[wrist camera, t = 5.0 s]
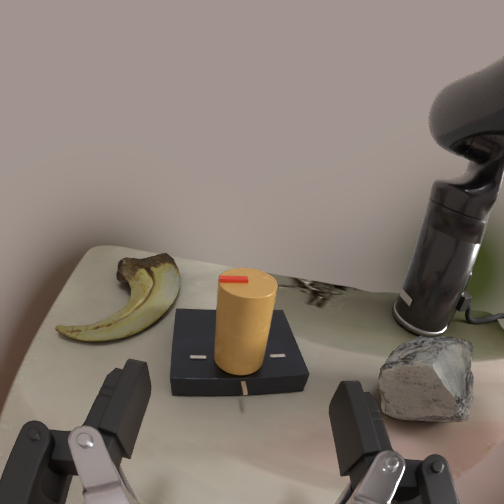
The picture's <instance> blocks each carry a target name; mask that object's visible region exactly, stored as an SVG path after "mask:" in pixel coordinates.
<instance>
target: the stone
mask: <svg viewBox="0 0 504 504" xmlns="http://www.w3.org/2000/svg"><path fill="white" fill-rule="evenodd" d="M472 352H473V346H472V344H471V343H470V342H469V341H465V340H462V339H460V338H458V339H456V338H454V337H443V336H441V337H435V338H432V337H429V338H428V337H425V336H419V337H416V338H414V339H413V340H412V341H410V342H406V343H404V344H402V345H400V346H399V347H397V349H396V350H394V351H392V353H391V354H390V356H389V357H388V359H387V360H386V362H385V364H384V365H383V366H382V367H381V368H380V370H381V372H380V374H379V378H378V380H379V389H380V391H381V396H382V398H381V399H382V402H381V409H382V412H383V413H385V414H387V415H389V416H391V417H394V418H396V419H402V420H420V421H439V422H463V421H466V420H468V418H469V407H470V404H471V402H472V400H473V396H472V388H473V374H472V372H471V370H470V368H471V362H472Z"/></svg>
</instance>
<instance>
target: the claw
mask: <svg viewBox="0 0 504 504" xmlns="http://www.w3.org/2000/svg"><path fill="white" fill-rule="evenodd" d="M117 280H118V281H121V282H125V283H129V285H130V288H131V297H130V300H129V302H128V304H127V305H126V306H125V307H124V308H123V309H121V310H120V311H119V312H117V313H116V314H114V315H112V316H110V317H108V318H106V319H104V320H102V321H99V322H97V323H95V324H92V325H87V326H57V327H55V329H56V330H57V331H58V332H59V333H60V334H62V335H65V336H67V337H70V338H73V339H77V340H81V341H90V342H97V341H107V340H115V339H121V338H125V337H128V336H131V335H133V334H136V333H138V332H140V331H142V330H144V329H146V328H147V327H148V326H150V325H151V324H153V323H154V322H155V321H157V320H158V319H159V318H160V317H161V316H162V315H163V314H164V313H165V312H166V311H167V310H168V309H169V307H170V306H171V304H172V303H173V302H174V300H175V298H176V296H177V294H178V291H179V287H180V274H179V270H178V268H177V265H176V263H175V261H174V259H173V258H172V257H171V256H169V255H168V254H167V253H164V254H159V255H156V256H152V257H148V258H143V259H135V258H123V259H122V260H120V261H119V263H118V271H117Z"/></svg>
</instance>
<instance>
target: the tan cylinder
mask: <svg viewBox="0 0 504 504" xmlns="http://www.w3.org/2000/svg"><path fill="white" fill-rule="evenodd" d="M277 287H278V286H277V282H276V280H275V279H274V278H273V277H272V276H270V275H269V274H267V273H265V272H262V271H259V270H256V269H249V268H235V269H230V270H228V271H225V272H224V273H222V274H221V275H219V279H218V293H217V310H216V328H215V348H214V359H215V362H216V364H217V365H218V366H219V367H220V368H221V369H222V370H224V371H225V372H227V373H230V374H234V375H248V374H251V373H254V372H255V371H257V370H258V369H259V368H260V367H261V366H262V364H263V360H264V355H265V350H266V345H267V340H268V335H269V330H270V324H271V319H272V314H273V309H274V303H275V298H276V293H277Z"/></svg>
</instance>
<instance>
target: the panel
mask: <svg viewBox="0 0 504 504" xmlns="http://www.w3.org/2000/svg"><path fill="white" fill-rule="evenodd" d="M215 328H216V310H201V309H176V314H175V324H174V334H173V345H172V357H171V371H170V382H171V389H172V395H178V396H241V395H260V394H274V393H285V392H295V391H303V389H304V387H305V384H306V382H307V379H308V376H309V372H308V369H307V367H306V365H305V362H304V360H303V357H302V355H301V352H300V350H299V348H298V345H297V343H296V340H295V338H294V336H293V333H292V331H291V328H290V326H289V324H288V321H287V319H286V316H285V314H284V312H283V310H273V314H272V319H271V324H270V330H269V335H268V340H267V345H266V350H265V355H264V360H263V364H262V366H261V367H260V368H259V369H258V370H257V371H255V372H254V373H251V374H248V375H234V374H230V373H227V372H225V371H224V370H222V369H221V368H220V367H219V366H218V365H217V364H216V362H215V359H214V348H215Z"/></svg>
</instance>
